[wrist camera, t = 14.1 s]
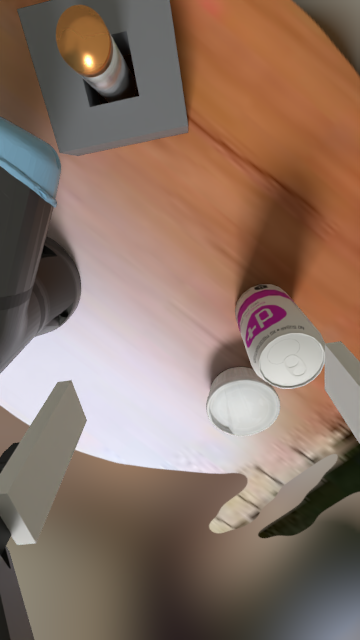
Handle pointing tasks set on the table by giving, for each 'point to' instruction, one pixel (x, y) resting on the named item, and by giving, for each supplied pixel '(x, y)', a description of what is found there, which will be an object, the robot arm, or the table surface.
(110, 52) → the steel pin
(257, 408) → the ramekin
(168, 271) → the table surface
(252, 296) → the supplement can
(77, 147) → the block
